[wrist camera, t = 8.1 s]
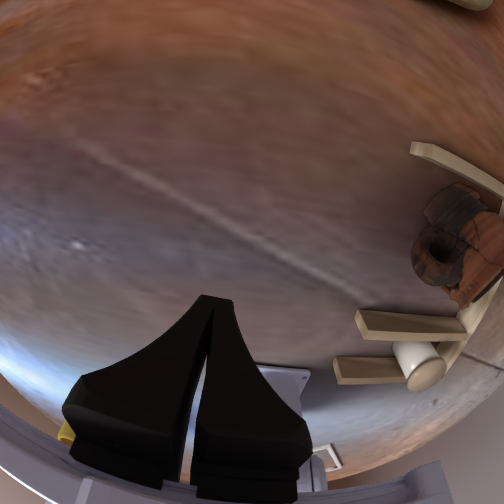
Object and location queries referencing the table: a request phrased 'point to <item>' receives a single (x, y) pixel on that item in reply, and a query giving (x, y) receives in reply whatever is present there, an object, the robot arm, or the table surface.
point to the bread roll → (473, 4)
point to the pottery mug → (453, 260)
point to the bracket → (420, 326)
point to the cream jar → (419, 363)
